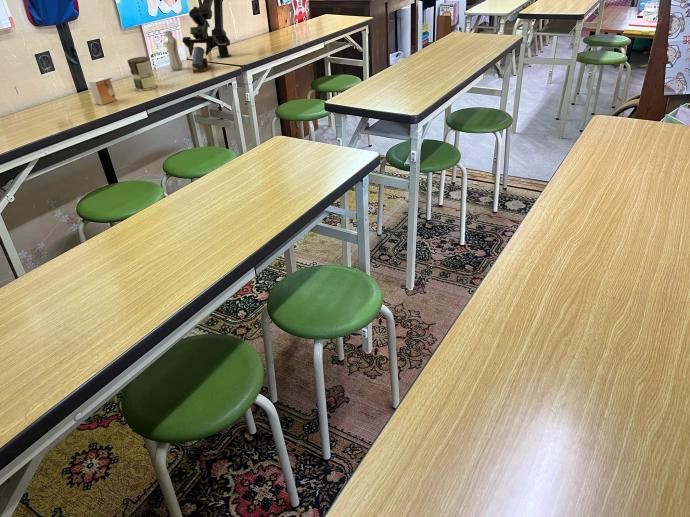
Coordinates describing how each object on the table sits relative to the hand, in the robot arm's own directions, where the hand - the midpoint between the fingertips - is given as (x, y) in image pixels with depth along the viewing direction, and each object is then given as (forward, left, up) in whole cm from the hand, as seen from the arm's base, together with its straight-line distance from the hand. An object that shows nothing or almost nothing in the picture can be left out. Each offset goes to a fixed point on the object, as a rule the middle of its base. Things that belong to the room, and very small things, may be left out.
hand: (198, 55), depth 279 cm
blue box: (+1, -1, -1) cm, 1 cm away
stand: (-1, +1, -8) cm, 8 cm away
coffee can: (+11, -34, -8) cm, 36 cm away
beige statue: (-15, -9, -8) cm, 19 cm away
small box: (+21, -56, -8) cm, 60 cm away
